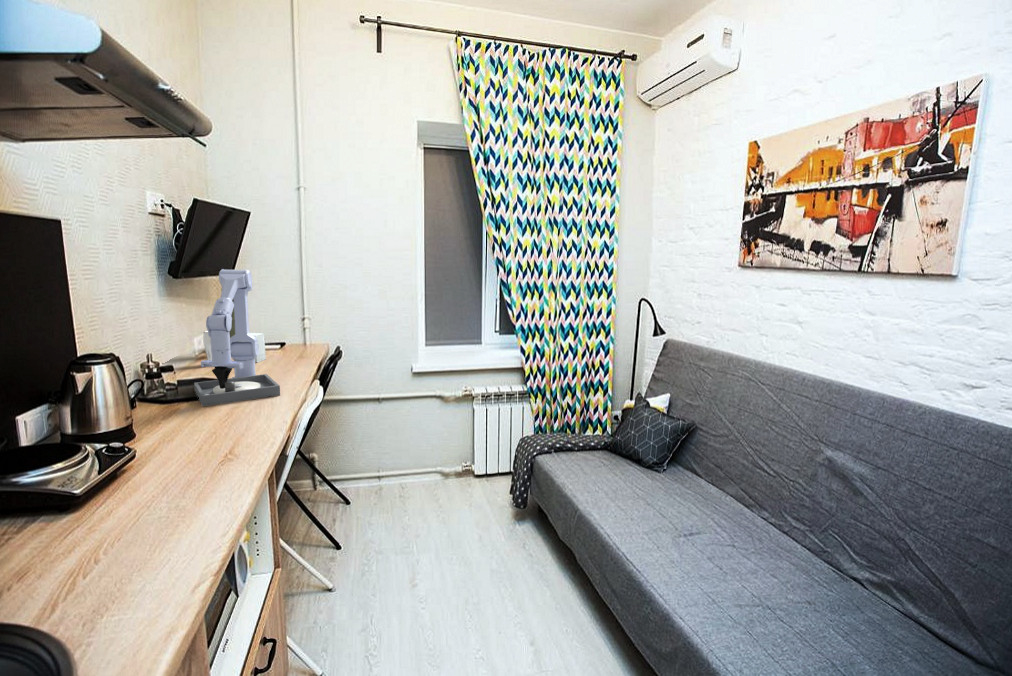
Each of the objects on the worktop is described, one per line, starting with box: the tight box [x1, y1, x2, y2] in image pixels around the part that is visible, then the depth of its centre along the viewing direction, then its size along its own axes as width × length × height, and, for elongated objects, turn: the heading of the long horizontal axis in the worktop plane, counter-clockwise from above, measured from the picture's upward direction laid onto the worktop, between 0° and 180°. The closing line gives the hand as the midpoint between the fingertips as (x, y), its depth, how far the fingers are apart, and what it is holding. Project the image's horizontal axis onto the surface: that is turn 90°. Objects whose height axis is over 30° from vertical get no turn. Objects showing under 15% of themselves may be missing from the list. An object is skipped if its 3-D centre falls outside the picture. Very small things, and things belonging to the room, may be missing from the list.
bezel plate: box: [193, 373, 281, 407], centre depth 174 cm, size 20×24×4 cm
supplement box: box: [241, 332, 267, 364], centre depth 224 cm, size 7×7×13 cm
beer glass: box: [202, 330, 212, 360], centre depth 214 cm, size 7×7×15 cm
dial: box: [213, 381, 260, 394], centre depth 174 cm, size 16×15×5 cm
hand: (223, 387), depth 168 cm, fingers closed
